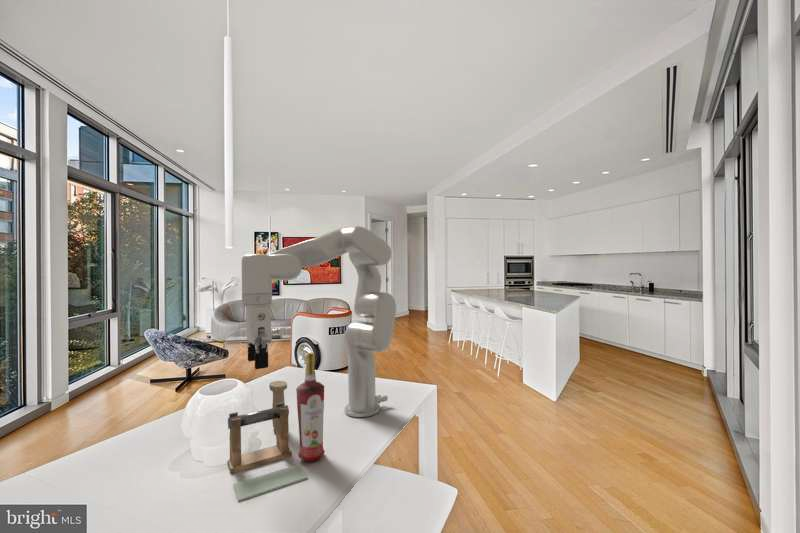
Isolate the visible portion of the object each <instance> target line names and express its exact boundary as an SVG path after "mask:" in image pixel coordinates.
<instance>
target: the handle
mask: <svg viewBox="0 0 800 533" xmlns="http://www.w3.org/2000/svg"><path fill="white" fill-rule="evenodd" d="M268 385H269V390H270V391H271V392H272V406H271V407H272V408H276V404H277V403H282V402H283V403H284V406H286V405H285V402H286V401H285V390H287V389H288V382H286V381H283V380H276V381H270V382H269V383H268ZM272 408H271V409H272ZM271 421H272V427H273V433H274V434H276V419H272V420H271Z"/></svg>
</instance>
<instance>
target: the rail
mask: <svg viewBox="0 0 800 533" xmlns="http://www.w3.org/2000/svg"><path fill="white" fill-rule="evenodd" d="M286 407H288V416H290V409H289V406H288V405H285V406H281V407H276V408H267V409H264V410H260V411H254V412H249V413H245V414H240V415H239V414H238V416H235V417H230V418H229V417H228V418H227V427H228V430H229V429H232V419H236V418H241V427H246V426H249V425H254V424H258V423H262V422H266V421H267V422H268V421H272V419H276V418H280V409H282V408H286Z"/></svg>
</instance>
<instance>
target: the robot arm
mask: <svg viewBox="0 0 800 533" xmlns="http://www.w3.org/2000/svg"><path fill="white" fill-rule="evenodd" d="M345 254H348V258H349V261H350V262H351V263H352V265H353V267H354V269H355V270H356V273H357V285H356V286H357V287H356V293H355V298H354V304H353V311H354V313H355V315H356V316H357V317H360V318H364V319H371V320H373V322H370V321H360V320H358V321H353V322H351V323H349V324H348V325H347V327H346V328H345V331H344V342H345V347H346V352H347V366H348V367H347V370H348V371H347V374H348V375H347V376H348V377H347V379H348V382H347V384H348V404H347V405H346V406H344V414H345V415H347V416H349V417H351V418H352V417H353V418H367V417H371V416H374V415H377V414H378V413H379V412H380V411H381V405H380V404H381V403H383V402H387V401H388V395H381V394H377V395H376V359H375V355H374V353H373V352H377V353H378V352H384V351H386V350H388V349H389V347H390V345H391V344H392V339H393V334H394V333H393V332H394V326H395V320H396V315H397V303H396V299H395V298H394V296H393V295H392V294H391V293H389V292H384V291H381V286H382V276H381V273H380V271H379V269H378V268H377V266H379V267H380V266H385V265H386V264H388V263H389V262H390V260H391V259H392V249H391V246H390V245H389V244H388V243H387V241H385V240H384V239H382V238H381V237H380V236H378V235H376V234H375V233H374V232H373V231H371V230H369V229H367V227H364V226H359V225H355V226H345V227H340V228H337V229H334V230H331V231H329V232H326V233H324V234H321V235H319V236H316V237H314V238H311V239H307V240H305V241H302V242H299V243H296V244H295V243H294V244H293V245H289V246H286V247H283V248H280V249H278V250H275V251H272V252H269V253H266V254H263V253H249V254H245V255H243V256H242V258H241V307H244V308H246V309H245V331H246V332H245V335H246V340H247V361H248V362H253V361H254V369H255V370H260V369H267V368H268V367H269V347H268V344H271V343H272V342H273V341H272V340H273V338H272V337H273V336H272V334H273V333H272V319H271V317H272V316H271V309H270V306H272V305H273V281H281V282H283V281H292V280H294V279H297V277H299V276H300V274H301V272H302V269H303V268H306V267H307V268H309V267H315V266H320V265H323V264H325V263H328V262H329V261H330V262H331V261H332V260H334V259H336V258H338V257H340V256H342V255H345Z"/></svg>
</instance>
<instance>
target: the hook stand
mask: <svg viewBox="0 0 800 533" xmlns="http://www.w3.org/2000/svg"><path fill="white" fill-rule="evenodd" d="M281 406H284V403H283V402H282V403H277V404H276V407H281ZM288 408H289V406H288V407H286V408H282V409H280V418H276V433H275V434H276V437H275V438H276V445H272V446H268V447H265V448H262V449H256V450H254V451H250V452H247V453H242V428H241V418H236V419H232V429H230V433H229V458H230V459H229V460H228V461H227V460H226V462H227V463H226V464H227V466H228V470H229V473H230V475H231V474H234V473H237V472H241V471H244V470H248V469H251V468H256V467H258V466H262V465H265V464H269V463H271V462H275V461H279V460H282V459H286V458H289V457H291V456H292V455H293V454H292V453H293V452H292V450H291V448H290V445H289V444H290V443H289V441H290V440H289V438H290V435H289V432H290V431H289V426H290V425H289V415H288ZM228 416H229V417H228V418H230V417H235V416H239V412H238V411H236V412H230V413H228Z"/></svg>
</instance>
